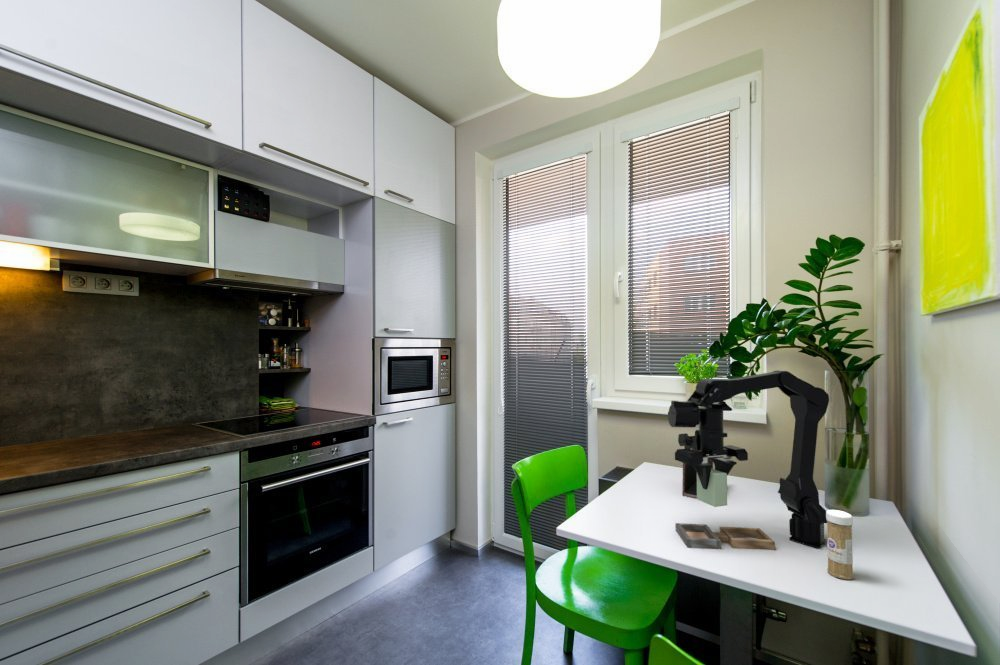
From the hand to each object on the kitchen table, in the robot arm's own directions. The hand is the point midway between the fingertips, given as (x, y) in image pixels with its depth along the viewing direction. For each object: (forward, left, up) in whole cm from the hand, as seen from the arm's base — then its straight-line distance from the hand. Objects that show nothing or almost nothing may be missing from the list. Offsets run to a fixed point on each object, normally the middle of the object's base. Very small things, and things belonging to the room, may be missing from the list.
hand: (711, 488), depth 112 cm
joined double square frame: (-2, -2, -13) cm, 13 cm away
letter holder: (+20, -37, -14) cm, 44 cm away
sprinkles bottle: (-26, -5, -14) cm, 29 cm away
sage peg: (0, 0, -4) cm, 4 cm away
